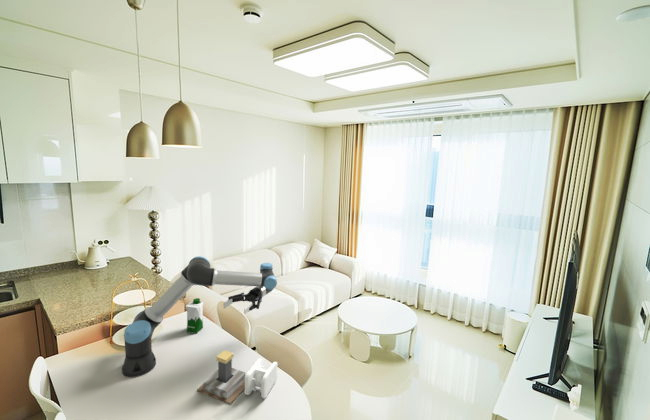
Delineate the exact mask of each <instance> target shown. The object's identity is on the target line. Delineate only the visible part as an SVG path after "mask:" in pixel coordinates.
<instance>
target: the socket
mask: <svg viewBox="0 0 650 420" xmlns="http://www.w3.org/2000/svg"><path fill="white" fill-rule="evenodd" d="M245 375H246V372H245V371H242V370H239V369H237V368H233V367H232V378H231V379H230V380H229V381H228V382H227V383H224V382H221V381H218V369H216V370H215V371H214V372H213V373H212V374H211V375H210V376H208V378H206V379H205V380H204V381H203V382H202V384H201V385H200V386H199V387H198V388H197V389H196V391H197V392H199V393H201V394H204V395H207V396H208V397H211V398H213V399H216V400H218V401H221V402H223V403H226V404H228V405H232V404H233V403H234V402H235V401H236V400H237V398H239V396H240V395H241V394H242V393H243V392H245Z"/></svg>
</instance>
